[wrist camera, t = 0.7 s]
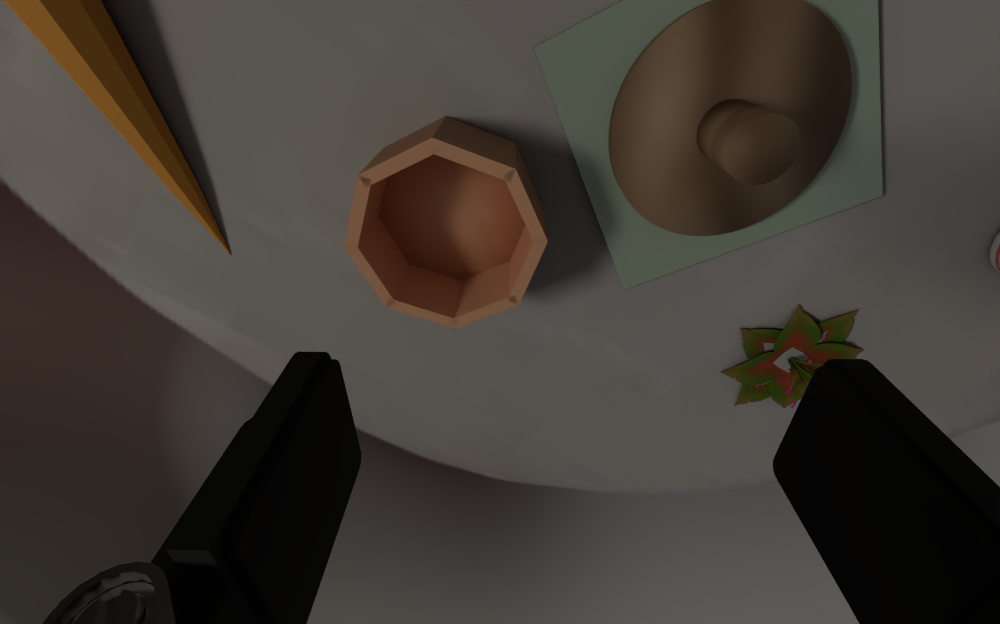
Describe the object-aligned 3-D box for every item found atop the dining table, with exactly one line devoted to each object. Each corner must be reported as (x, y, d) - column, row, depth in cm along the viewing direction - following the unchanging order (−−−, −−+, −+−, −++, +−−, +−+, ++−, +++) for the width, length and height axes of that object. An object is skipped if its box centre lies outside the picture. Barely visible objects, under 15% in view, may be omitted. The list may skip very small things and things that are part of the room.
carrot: (31, -64, 26) (-64, -55, 23) (71, -88, 24) (-27, -81, 21) (234, 239, 38) (189, 271, 35) (272, 240, 36) (228, 274, 33)
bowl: (493, 91, 29) (488, 108, 24) (560, 246, 35) (567, 286, 30) (341, 169, 32) (309, 199, 27) (426, 300, 37) (412, 344, 32)
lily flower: (877, 285, 36) (920, 318, 32) (849, 396, 43) (883, 434, 39) (718, 311, 38) (741, 345, 34) (714, 414, 44) (733, 452, 40)
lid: (833, -63, 24) (917, -82, 19) (848, 181, 31) (913, 214, 26) (577, 66, 27) (591, 79, 22) (642, 259, 34) (664, 301, 29)
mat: (867, -129, 23) (874, -133, 22) (876, 192, 32) (882, 195, 31) (533, 47, 28) (533, 47, 27) (622, 286, 36) (623, 289, 36)
